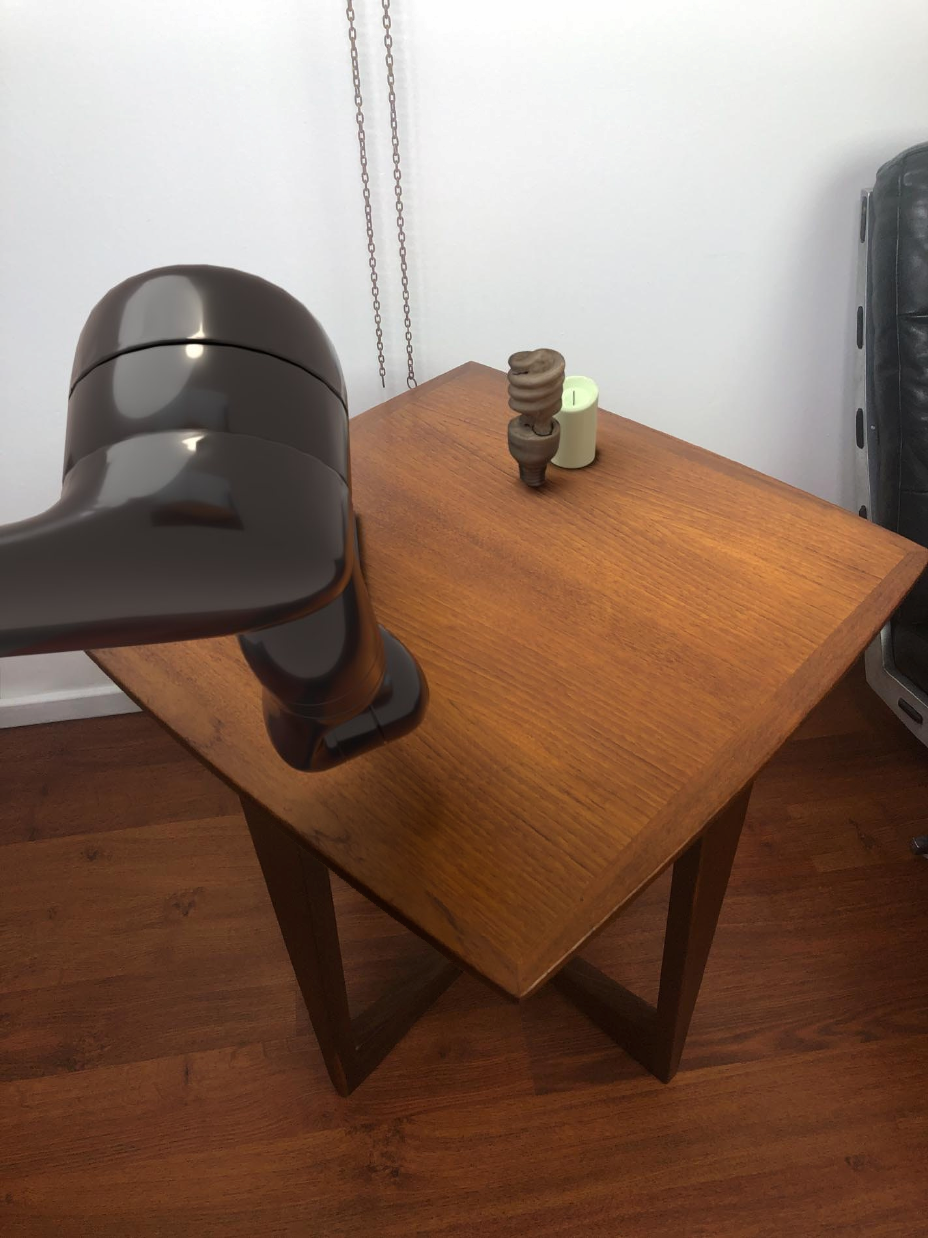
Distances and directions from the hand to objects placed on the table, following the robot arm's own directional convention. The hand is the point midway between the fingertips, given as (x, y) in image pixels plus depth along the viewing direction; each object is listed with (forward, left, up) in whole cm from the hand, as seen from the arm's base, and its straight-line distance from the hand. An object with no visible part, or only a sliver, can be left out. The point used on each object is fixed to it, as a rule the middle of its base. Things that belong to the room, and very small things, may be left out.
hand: (245, 453), depth 86 cm
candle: (+32, +10, -11) cm, 36 cm away
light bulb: (+27, +5, -11) cm, 30 cm away
